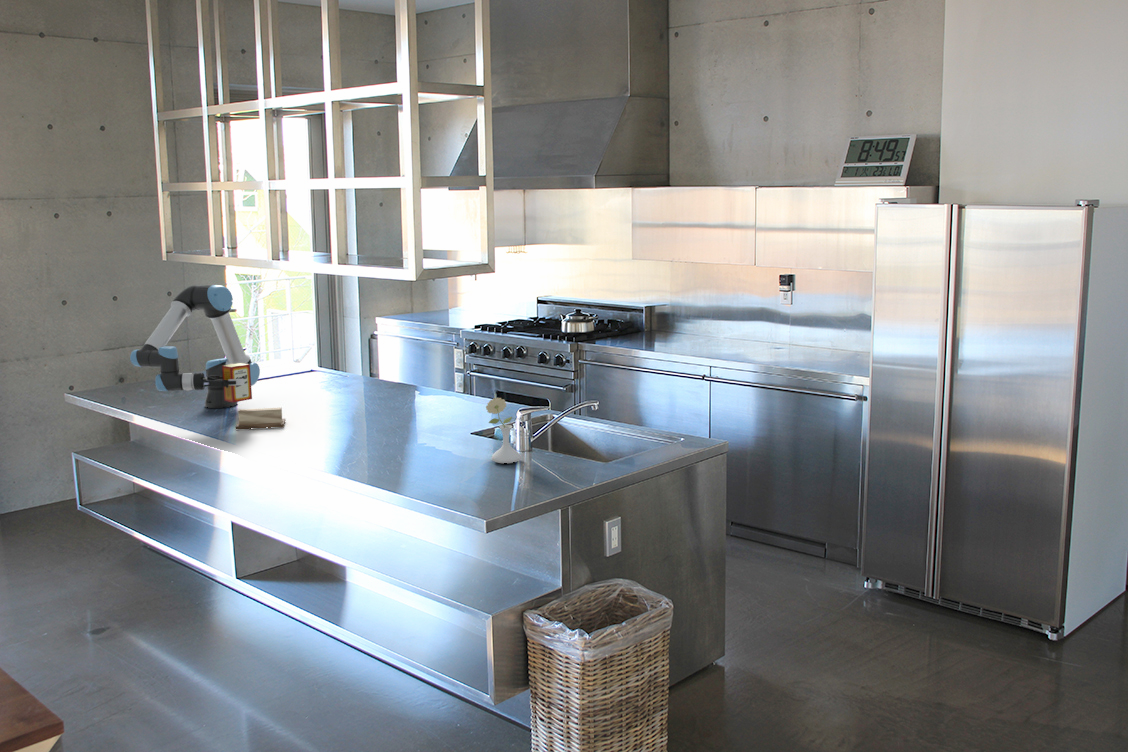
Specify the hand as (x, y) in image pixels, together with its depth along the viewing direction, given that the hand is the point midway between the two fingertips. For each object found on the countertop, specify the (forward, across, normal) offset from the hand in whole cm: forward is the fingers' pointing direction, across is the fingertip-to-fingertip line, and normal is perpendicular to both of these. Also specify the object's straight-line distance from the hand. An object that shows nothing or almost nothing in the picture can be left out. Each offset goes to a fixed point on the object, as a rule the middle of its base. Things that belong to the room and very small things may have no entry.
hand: (246, 379), depth 415 cm
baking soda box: (-4, 0, -9) cm, 10 cm away
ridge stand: (+5, +1, -21) cm, 22 cm away
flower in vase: (+104, +84, -21) cm, 135 cm away
